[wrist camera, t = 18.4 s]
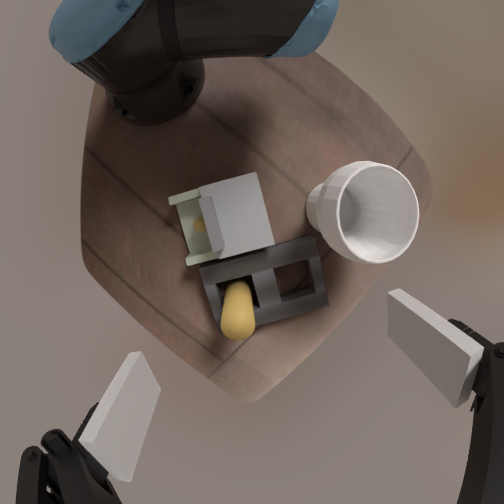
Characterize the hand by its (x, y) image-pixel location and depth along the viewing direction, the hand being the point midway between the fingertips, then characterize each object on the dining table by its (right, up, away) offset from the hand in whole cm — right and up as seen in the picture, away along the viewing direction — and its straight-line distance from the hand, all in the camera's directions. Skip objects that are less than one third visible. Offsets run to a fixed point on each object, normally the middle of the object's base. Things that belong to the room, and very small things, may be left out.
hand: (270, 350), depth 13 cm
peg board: (+1, 0, +27) cm, 27 cm away
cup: (+11, +11, +25) cm, 30 cm away
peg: (-3, -1, +27) cm, 27 cm away
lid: (-3, +9, +20) cm, 22 cm away
